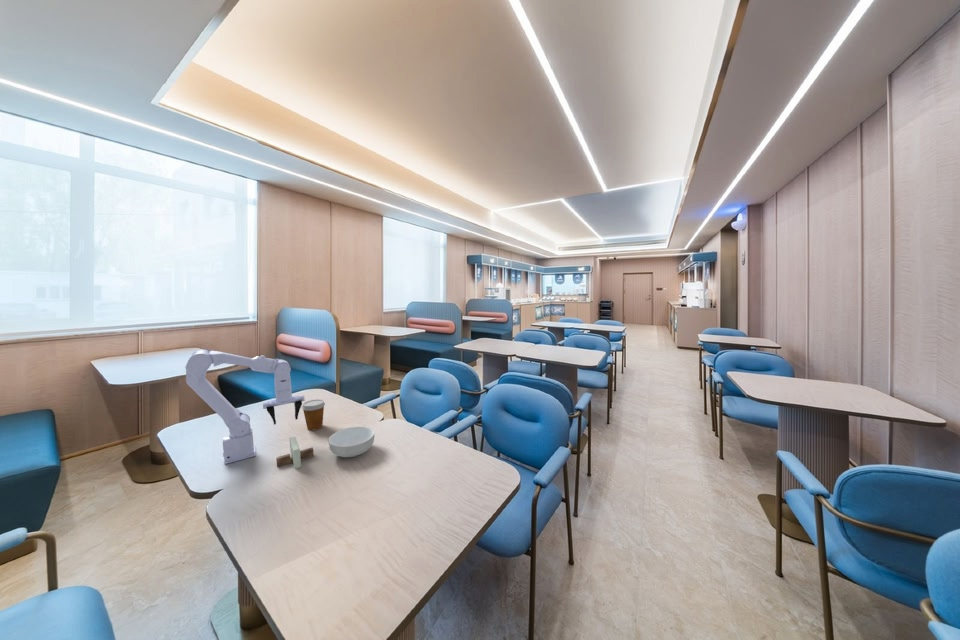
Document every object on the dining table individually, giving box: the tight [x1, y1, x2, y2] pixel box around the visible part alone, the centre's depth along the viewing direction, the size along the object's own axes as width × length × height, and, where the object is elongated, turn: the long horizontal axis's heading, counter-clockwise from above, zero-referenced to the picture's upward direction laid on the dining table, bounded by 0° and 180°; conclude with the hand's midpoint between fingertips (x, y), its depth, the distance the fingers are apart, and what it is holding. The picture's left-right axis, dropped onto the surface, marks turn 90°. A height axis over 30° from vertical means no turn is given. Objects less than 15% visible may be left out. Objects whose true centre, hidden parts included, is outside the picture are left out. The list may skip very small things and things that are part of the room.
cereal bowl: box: [328, 426, 375, 458], centre depth 124 cm, size 17×17×7 cm
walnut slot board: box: [275, 447, 315, 468], centre depth 119 cm, size 12×2×3 cm, turn 127°
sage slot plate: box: [289, 436, 302, 470], centre depth 119 cm, size 12×2×7 cm, turn 37°
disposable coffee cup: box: [301, 398, 326, 431], centre depth 146 cm, size 10×10×12 cm
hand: (285, 421), depth 131 cm, fingers open, 7 cm apart
